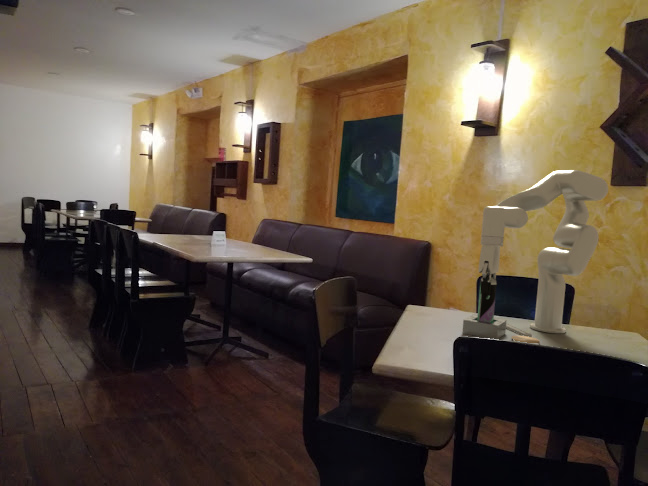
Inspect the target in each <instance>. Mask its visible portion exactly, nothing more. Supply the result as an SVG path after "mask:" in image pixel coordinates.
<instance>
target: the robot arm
mask: <svg viewBox="0 0 648 486" xmlns="http://www.w3.org/2000/svg"><path fill="white" fill-rule="evenodd" d="M608 193H609V185H608V183H607V182H606V180H605V179H603V178H602V177H599V176H597V175H594V174H591V173H589V172H586V171H581V170H579V169H569V170H568V169H567V170H555V171H552V172H551V173H548V175H546V176H545V177H544V178H542V179H541V180H539V181H538V182H537V183H535V184H534V185H533V186H532V187H530V188H528V189H525V190H523V191H520V192H518V193H516V194H514V195H511V196H508V197H507V198H505V199H503V200H501V201H500V202H499V203H497V204H496V205H493V206H490V205H489V206H485V207H484V208H483V211H482V224H481V234H480V235H481V237H480V245H481V249H480V255H479V261H478V273H480V274H481V279H482V281H481V280H480V282H481V293H487V294H490V289H491V282H490V280H491V274H492V277H493V279H494V280H496V281H497V278H496V277H497V273H498V272H499V270H500V269H499V268H500V258H501V255H500V254H501V247H504V239H505V238H504V237H505V228H506V229H520V228H523V227H524V226H525V225H526V224H527V223H528V220H529V215H528V213H527V212H530V211H535V210H538V209H543V208H544V207H547V206H548V205H549V204H551V202H553V201H554V200H556V199H557V198H558V197H560V196H561V195H562V196H563V199H564V203H565V210H564V213H563V216H562V218H561V219H560V222H559V224H558V225H557V227H556V230H555V231H554V234H553V237H552V238H553V242H554V244H555V245H556V246H558V247H556V246H555V247H554V246H553V247H552V246H550V247H545V248H543V249H542V250H540V251H539V253H538V255H537V269H538V281H537V282H538V283H537V292H536V293H537V294H536V304H535V316H534V322H532V323H529V328H531V329H532V330H535V331H538V332H543V333H549V334H564V333H566V331H567V329H566V328H565V327H564V326H562V324H563V315H564V306H565V297H566V294H565V292H566V281H565V278H564V275H566V276H570V277H572V276H573V277H577V276H580V275H581V274H582V273H583V272H584V271H585V270H586V268H587V266H588V264H589V262H590V260H591V258H592V257H593V254H594V253H595V251H596V248H597V247H598V244H599V232H598V230H597V229H596V227H594V226H593V225H591V224H587V223H588V220H589V218H590V212H589V209H588V207H587V204H586V201H588V202H589V201H590V202H591V201H592V202H593V201H594V202H595V201H596V202H597V201H601V200H604V199H605V198H606V196H607V195H608ZM488 275H489V277H488Z"/></svg>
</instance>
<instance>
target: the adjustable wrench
mask: <svg viewBox="0 0 648 486" xmlns="http://www.w3.org/2000/svg"><path fill="white" fill-rule="evenodd" d="M496 319H499V318H496ZM506 328H507V329H506V330H508V329H509V330H508V331H510V330H512V331H511V332H513V331H515V332H517V333H519V334H522V335H524V336H529V337H532V336H533V335H532V333H530V332H527V331H525V330H523V329H520V328H518V327H516V326H513V325H511V324H508V323H506ZM515 332H514V333H515ZM517 333H516V334H517ZM519 334H518V335H519ZM522 335H521V336H522ZM532 338H533V337H532Z"/></svg>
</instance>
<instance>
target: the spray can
mask: <svg viewBox="0 0 648 486" xmlns="http://www.w3.org/2000/svg"><path fill="white" fill-rule="evenodd" d="M488 277H489V275H488ZM481 281H482V278H481V279H480V282H479V295H478V306H477V307H478V308H477V315H478V317H477V321H482V322H488V323H493V319H494V318H495V317H494V316H495V304H496V297H497V296H496V295H497V284H498V283H497V279H496V280H494V279H493V277H492V274H491V280H490V282H491V289H490V294H487V293H481Z"/></svg>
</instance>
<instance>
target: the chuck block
mask: <svg viewBox="0 0 648 486" xmlns="http://www.w3.org/2000/svg"><path fill="white" fill-rule="evenodd" d="M477 317H478V314H472V315H470V316H468V317H466V318H464V319H463V324H462V333H464V334H463V335H467V334H468V335H467V336H472V335H476V336H475V337H479V338H483V337H485V338H484V339H488V338H494V339H498V338H499V337H500V338H502V337H503V336H504V335H506V333H507V331H506V330H507V329H506V324H507V321H508V320H506V319H503V318H498V319H496V318H495V317H494V319H493V323H488V322H482V321H477ZM502 335H503V336H502ZM501 336H502V337H501ZM500 338H499V339H500ZM494 339H493V340H494ZM499 339H498V340H499Z"/></svg>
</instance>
